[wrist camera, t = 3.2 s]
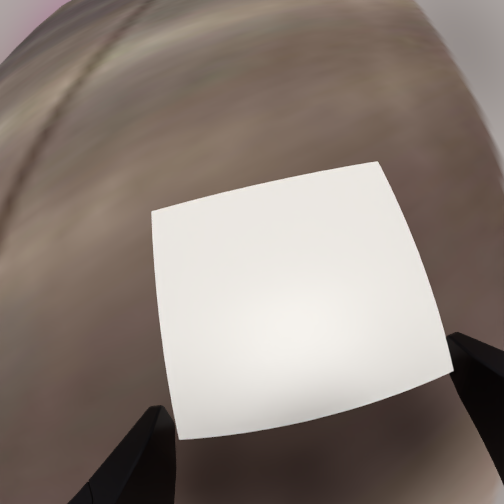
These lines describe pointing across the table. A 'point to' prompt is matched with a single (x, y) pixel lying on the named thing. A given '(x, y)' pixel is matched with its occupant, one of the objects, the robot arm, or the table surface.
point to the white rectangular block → (292, 302)
